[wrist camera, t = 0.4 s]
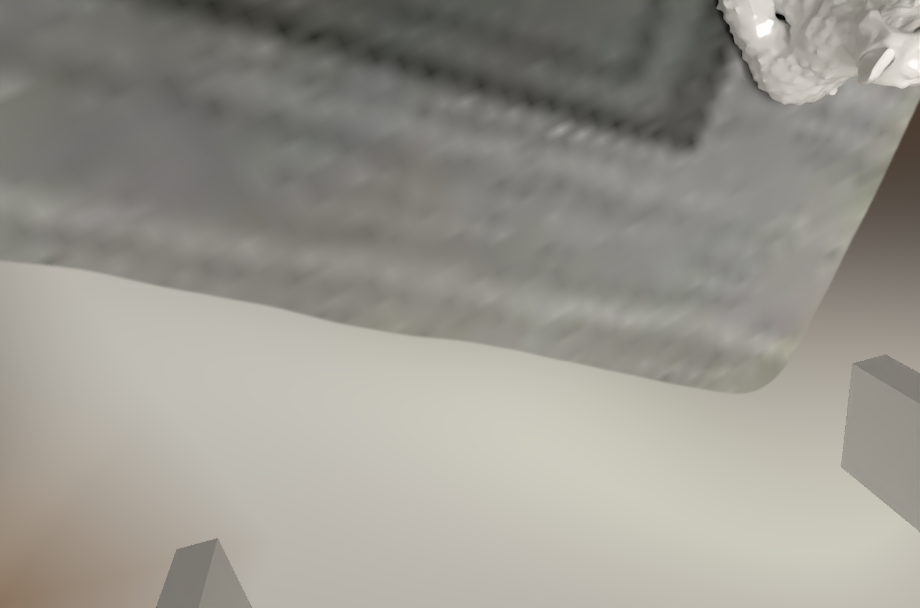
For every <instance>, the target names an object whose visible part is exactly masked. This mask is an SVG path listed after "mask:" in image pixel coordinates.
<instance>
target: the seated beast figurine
mask: <svg viewBox="0 0 920 608" xmlns="http://www.w3.org/2000/svg"><path fill="white" fill-rule="evenodd" d="M718 2H719V3H718V5H717V7H716V8H717V9H718V10H721V11H722V12H723V13H724V15H723V19H724V20H725V21H726V23H727V24H729V26H730V32H731V33H732V34H733V36H734V43H735V44H736V45H737V46H738V47H739V49H741V50H742V59H743V60H745V61H746V62H747V63H748V65H749V68H750V70H751V73H752V75H753V79H754V81H756V82H757V83H758V88H759V89H761V90H763V91H765V92H768V93H769V95H770V97H771V98H772V99H774V100H776V101H778V102H780V103H782V104H791V103H792V104H795V105H798V106H801V105H802V104H804V103H805V102H810V103H814V102H815V101H817V100H818V99H821V98H822V97H823V96H824V95H835V93H836V92H837V89H838V87H840V86H842V85H843V83H844V82H845V81H846V80H848V79H850V78H852V77H854V76H858V82H859V83H860V84H867V83H873V84H879V85H882V86H896V87H898V88H900V89H904V88H906V87H907V86H913V87H916V86H920V0H718ZM776 13H778V14H781V15H784V16H785V19H786V20H781V19H778V18H777V17H776V16H775V14H776Z"/></svg>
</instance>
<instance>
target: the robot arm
mask: <svg viewBox="0 0 920 608" xmlns="http://www.w3.org/2000/svg"><path fill="white" fill-rule="evenodd" d="M841 467H842V468H843V469H844V470H846V471H847V472H848V473H849V474H850V475H852V476H853V477H854V478H855V479H856V480H858V481H859V482H860V483H861V484H862V485H864V486H865V487H866V488H867V489H868V490H870V491H871V492H872V493H873V494H875V495H876V496H877V497H878V498H879V499H881V500H882V501H883V502H884V503H885V504H887V505H888V506H889V507H890V508H892V509H893V510H894V511H895V512H896V513H898V514H899V515H900V516H901V517H902V518H904V519H905V520H906V521H907V522H909V523H910V524H911V525H912V526H913V527H915V528H916V529H917V530H918V531H919V532H920V373H918V372H917V371H915V370H913V369H911V368H910V367H908V366H906V365H904V364H902V363H900V362H899V361H897V360H895V359H893V358H891V357H889V356H888V355H882V356H879V357H875V358H871V359H868V360H864V361H860V362H857V363H853V364H852V372H851V381H850V390H849V399H848V409H847V417H846V426H845V435H844V444H843V453H842V462H841ZM156 608H252V607H251V605H250V603H249V601H248V599H247V596H246V594H245V592H244V590H243V588H242V586H241V585H240V582H239V580H238V578H237V576H236V574H235V572H234V570H233V568H232V566H231V564H230V562H229V560H228V558H227V556H226V554H225V552H224V550H223V548H222V546H221V544H220V542H219V540H218V538H216V539H213V540H209V541H206V542H202V543H199V544H195V545H191V546H188V547H184V548H180V549H177V550H176V553H175V555H174V558H173V561H172V564H171V567H170V570H169V572H168V576H167V578H166V581H165V584H164V587H163V589H162V592H161V595H160V598H159V601H158V604H157V606H156Z"/></svg>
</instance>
